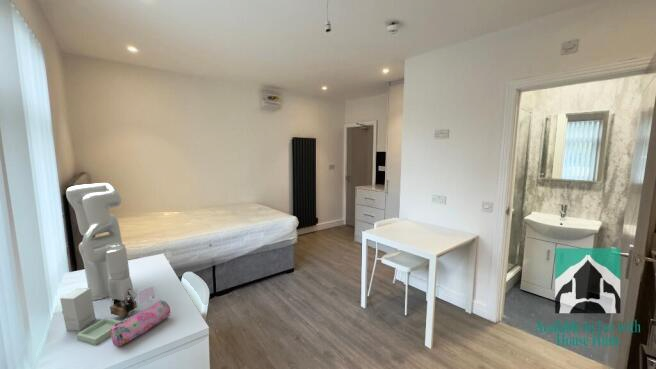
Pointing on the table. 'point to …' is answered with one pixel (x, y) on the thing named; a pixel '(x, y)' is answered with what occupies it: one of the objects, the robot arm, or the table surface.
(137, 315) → the pencil case
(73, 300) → the skincare box
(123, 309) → the brown square frame
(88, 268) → the robot arm
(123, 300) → the grey stamp
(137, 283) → the table surface
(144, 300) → the mobile phone
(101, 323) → the tray
